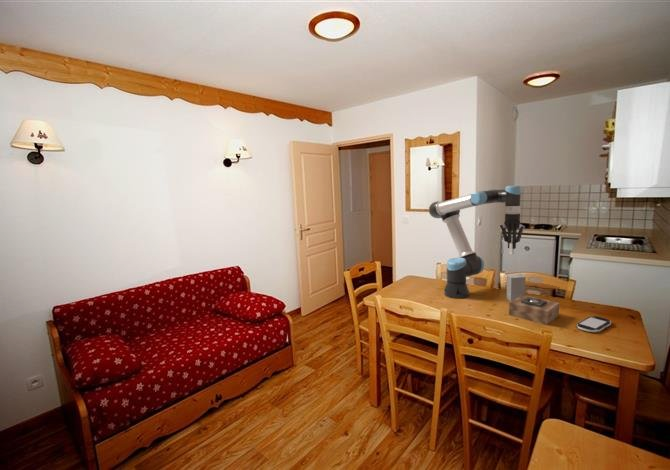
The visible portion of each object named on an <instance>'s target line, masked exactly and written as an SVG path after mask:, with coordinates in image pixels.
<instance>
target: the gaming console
mask: <svg viewBox="0 0 670 470" xmlns="http://www.w3.org/2000/svg"><path fill="white" fill-rule="evenodd" d="M611 324H612V321H611V320H610V319H609V318H606V317H605V318H604V317H601V316H597V315H593V316H588V317H586V318H584V319H582V320H580V321H578V322H577V323H576V326H575V327H576V328H577V329H578V330H580V331H582V332H585V333H589V334H590V333H591V334H597V333H600V332H602V331H603V330H605V329H606V328H608V327H610V326H611Z"/></svg>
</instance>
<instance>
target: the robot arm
mask: <svg viewBox="0 0 670 470" xmlns="http://www.w3.org/2000/svg"><path fill="white" fill-rule="evenodd" d="M521 191H522V189H521V186H520V185H507V186H505V189H489V190H477V191H475V192H473V193H469V194H467V195H462V196H459V197H456V198H452V199H447V200H439V201H438V200H437V201H434V202H431V204H430V205H429V206H428V213H429V215H430V216H431V217H432V218H434V219H442V222H443V223H445V224H446V226H447V229H448V231H449V233H450V236H451V238H452V241H453V243H454V245H455V249H456V251H457V253H458V256H457V257H451V258H449V259H448V260H447V261H446V284H445V286H444V290H443V292H444V293H443V294H444V296H446V297H448V298H453V299H465V298H468V297H469V296H470V291H469V288H468V285H467V277H472V276H476V275H478V274H480V273H482V272H484V271H483V270H484V268H485V262H484V259H483V258H482V257H481V256H478V255H477V253H476V251H473V249H472V248H471V245H470V242H469V240H468V238H467V235H466V233H465V231H464V228H463V225H462V224H461V221H460V216H461V215H460V213H461V210H465V209H468V208H473V207H477V206H481V205H486V204H487V205H488V204H494V203H495V204H497V203H499V204H500V203H503V204H504V207H505V208H504V213H505V214H504V223H502V224H500V225H499V227H500V230H501V232H502V237H503V241H504V242H505V243H507V248H508V254H509V255H514V254H515V249H517V244H518V243H520V241H521V238H522V235H523V231H524V229H525V228H526V226H525V225H523V224H522V223H521V195H522V192H521ZM518 228H519V229H518ZM517 231H518V232H517Z"/></svg>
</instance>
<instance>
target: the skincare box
mask: <svg viewBox="0 0 670 470" xmlns="http://www.w3.org/2000/svg"><path fill="white" fill-rule="evenodd" d="M521 295H525V296H526V276H525V275H523V274H522V273H511V274H506V299H507V301H508V302H511V301H513V300H514V299H516V298H518V297H520V296H521Z"/></svg>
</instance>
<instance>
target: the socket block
mask: <svg viewBox="0 0 670 470" xmlns="http://www.w3.org/2000/svg"><path fill="white" fill-rule="evenodd" d="M530 299H535V300H538V301H539V302H538V303H533V302H530V301H529V300H530ZM508 304H509V305H508V315H509V316H510V317H515V318H520V319H523V320H527V321H530V322H533V323H538V324H540V325H545V326H548V325H549V324H550V323H551V322H553V321H554V320H555V319H556V318H558V317H559V316H560V302H557V301H552V300H548V299H542V298H539V297H538V298H537V297H533V296H529V295H526V294H525V295H521V296H520V297H518V298H516V299H514V300H513V301H511V302H510V301H508Z"/></svg>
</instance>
